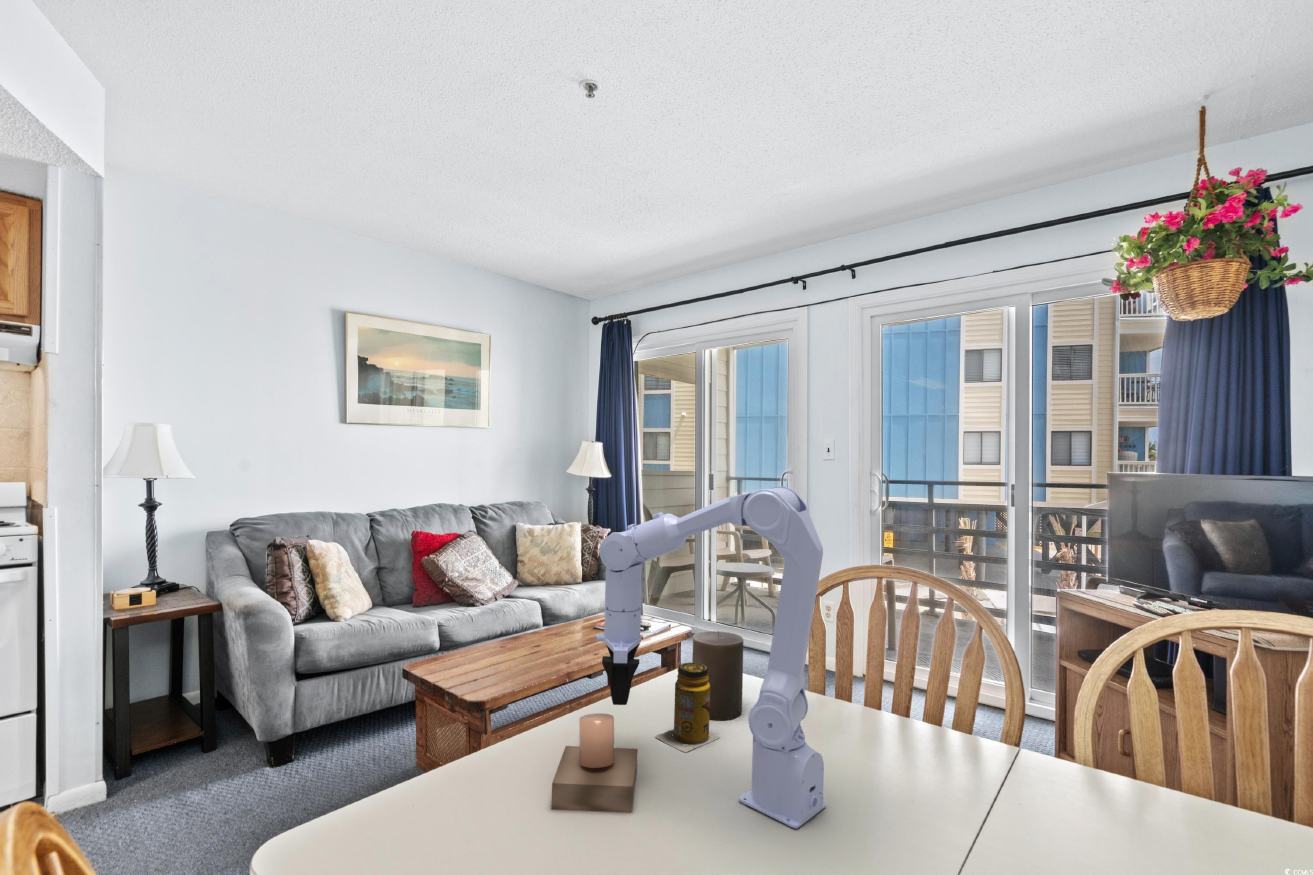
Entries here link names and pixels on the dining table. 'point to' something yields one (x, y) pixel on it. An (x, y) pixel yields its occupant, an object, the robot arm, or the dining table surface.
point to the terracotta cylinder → (596, 740)
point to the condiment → (690, 709)
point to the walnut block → (595, 783)
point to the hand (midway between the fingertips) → (620, 694)
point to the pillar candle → (721, 671)
